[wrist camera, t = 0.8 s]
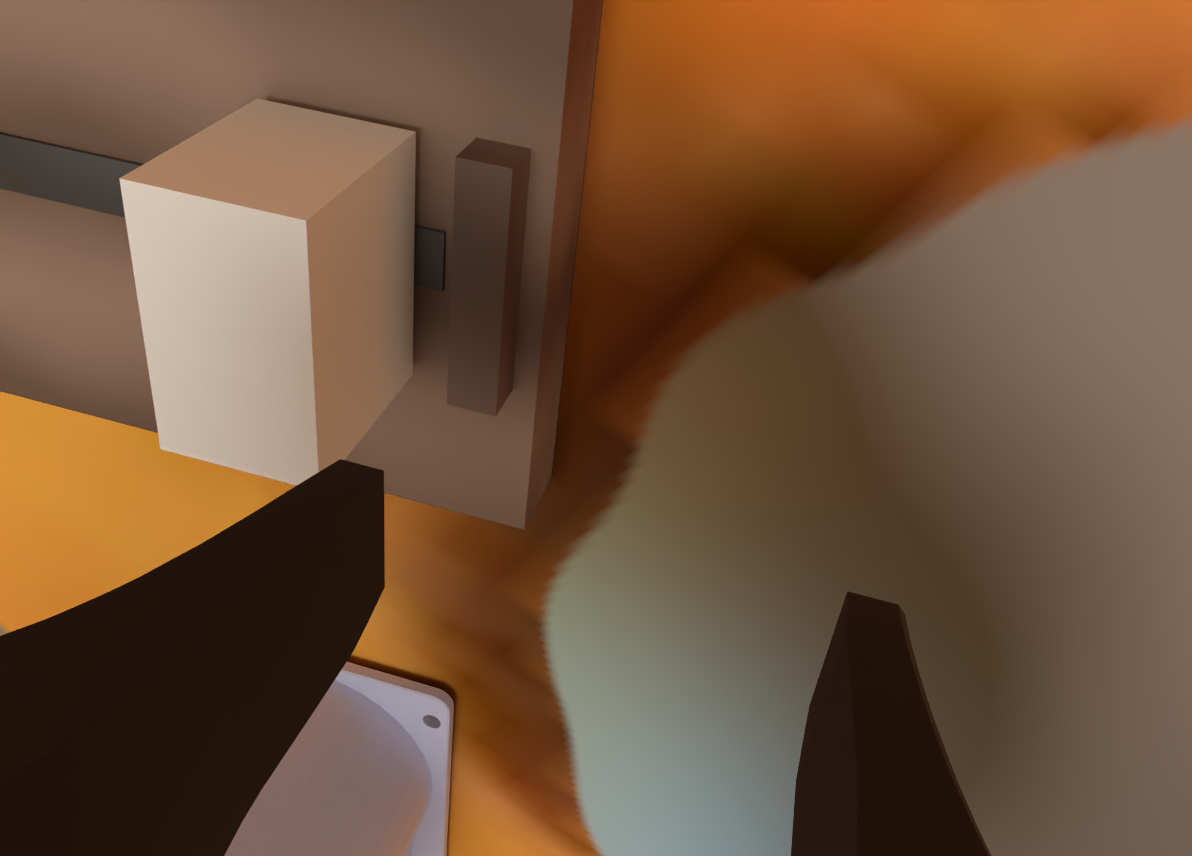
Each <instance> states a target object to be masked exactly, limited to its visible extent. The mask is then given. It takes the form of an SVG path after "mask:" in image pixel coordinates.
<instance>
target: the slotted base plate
mask: <svg viewBox="0 0 1192 856" xmlns="http://www.w3.org/2000/svg"><path fill="white" fill-rule="evenodd" d="M602 2H603V0H0V391H2V392H5V393H9V394H13V395H17V396H21V397H24V398H28V399H32V400H36V401H39V402H43V403H47V404H51V405H55V406H58V407H62V408H66V409H70V410H73V411H77V412H81V413H85V414H89V415H92V416H96V417H100V418H104V419H107V420H111V421H115V422H119V423H123V424H126V425H130V426H134V427H138V428H141V429H145V430H149V431H153V432H157V433H158V429H157V423H156V416H155V410H154V403H153V397H152V390H151V383H150V377H149V370H148V364H147V357H146V351H145V344H144V337H143V331H142V324H141V318H140V311H139V305H138V298H137V291H136V285H135V278H134V272H133V265H132V259H131V252H130V245H129V239H128V232H127V226H126V219H125V213H124V206H123V199H122V193H121V186H120V180H119V178H121V177H123V176H124V175H126V174H128V173H130V172H131V171H133V170H135V169H136V168H138V167H140V166H142V165H143V164H145V163H147V162H149V161H150V160H152V159H154V158H155V157H157V156H159V155H161V154H162V153H164V152H166V151H168V150H169V149H171V148H173V147H174V146H176V145H178V144H180V143H181V142H183V141H185V140H187V139H188V138H190V137H192V136H194V135H195V134H197V133H199V132H200V131H202V130H204V129H206V128H207V127H209V126H211V125H213V124H214V123H216V122H218V121H219V120H221V119H223V118H225V117H226V116H228V115H230V114H232V113H233V112H235V111H237V110H238V109H240V108H242V107H244V106H245V105H247V104H249V103H251V102H252V101H254V100H256V99H262V100H267V101H272V102H276V103H281V104H286V105H291V106H295V107H300V108H305V109H310V110H315V111H319V112H324V113H329V114H334V115H338V116H343V117H348V118H353V119H358V120H362V121H367V122H372V123H377V124H382V125H386V126H391V127H396V128H401V129H405V130H410V131H415V132H416V157H415V232H414V307H413V375H412V376H411V377H410V378H409V380H408V381H407V382H406V383H405V385H404V386H403V387H402V388H401V390H400V391H399V392H398V393H397V395H396V396H395V397H394V398H393V400H392V401H391V402H390V403H389V405H388V406H387V407H386V408H385V410H384V411H383V412H382V414H381V415H380V416H379V417H378V419H377V420H376V421H375V422H374V424H373V425H372V426H371V427H370V429H369V430H368V431H367V432H366V434H365V435H364V436H363V437H362V439H361V440H360V441H359V442H358V444H357V445H356V446H355V447H354V449H353V450H352V451H351V452H350V454H349V455H348V456H347V457H346V459H345V460H346V461H350V462H354V463H357V464H361V465H365V466H369V467H373V468H377V469H380V470H384V493H387V494H391V495H395V496H398V497H402V498H406V499H410V500H414V501H417V502H421V503H425V504H429V505H432V506H436V507H440V508H444V509H448V510H451V511H455V512H459V513H463V514H466V515H470V516H474V517H478V518H482V519H485V520H489V521H493V522H497V523H500V524H504V525H508V526H512V527H516V528H519V529H523V530H524V529H525V527H526V525H527V523H528V522H529V520H530V518H531V516H532V514H533V512H534V510H535V508H536V506H537V504H538V502H539V500H540V498H541V496H542V494H543V492H544V490H545V488H546V486H547V484H548V483H549V481H550V479H551V476H552V467H553V457H554V448H555V439H556V430H557V420H558V411H559V402H560V392H561V383H562V374H563V364H564V355H565V346H566V337H567V327H568V318H569V309H570V299H571V290H572V281H573V271H574V262H575V253H576V244H577V234H578V225H579V216H580V206H581V197H582V188H583V178H584V169H585V160H586V151H587V141H588V132H589V123H590V113H591V104H592V95H593V86H594V76H595V67H596V58H597V48H598V39H599V30H600V20H601V11H602Z"/></svg>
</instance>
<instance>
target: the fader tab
mask: <svg viewBox="0 0 1192 856" xmlns="http://www.w3.org/2000/svg"><path fill="white" fill-rule="evenodd" d="M415 157H416V132H415V131H410V130H405V129H401V128H396V127H391V126H386V125H382V124H377V123H372V122H367V121H362V120H358V119H353V118H348V117H343V116H338V115H334V114H329V113H324V112H319V111H315V110H310V109H305V108H300V107H295V106H291V105H286V104H281V103H276V102H272V101H267V100H262V99H256V100H254V101H252V102H251V103H249V104H247V105H245V106H244V107H242V108H240V109H238V110H237V111H235V112H233V113H232V114H230V115H228V116H226V117H225V118H223V119H221V120H219V121H218V122H216V123H214V124H213V125H211V126H209V127H207V128H206V129H204V130H202V131H200V132H199V133H197V134H195V135H194V136H192V137H190V138H188V139H187V140H185V141H183V142H181V143H180V144H178V145H176V146H174V147H173V148H171V149H169V150H168V151H166V152H164V153H162V154H161V155H159V156H157V157H155V158H154V159H152V160H150V161H149V162H147V163H145V164H143V165H142V166H140V167H138V168H136V169H135V170H133V171H131V172H130V173H128V174H126V175H124V176H123V177H121V178H119V180H120V186H121V193H122V199H123V206H124V213H125V219H126V226H127V232H128V239H129V245H130V252H131V259H132V265H133V272H134V278H135V285H136V291H137V298H138V305H139V311H140V318H141V324H142V331H143V337H144V344H145V351H146V357H147V364H148V370H149V377H150V383H151V390H152V397H153V403H154V410H155V416H156V423H157V429H158V436H159V442H160V449H162V450H165V451H169V452H173V453H177V454H180V455H184V456H188V457H192V458H195V459H199V460H203V461H207V462H210V463H214V464H218V465H222V466H225V467H229V468H233V469H237V470H240V471H244V472H248V473H252V474H255V475H259V476H263V477H267V478H270V479H274V480H278V481H282V482H285V483H289V484H293V485H296V486H297V485H299V484H300V483H302V482H303V481H305V480H307V479H308V478H310V477H311V476H313V475H315V474H316V473H318V472H320V471H321V470H323V469H325V468H326V467H328V466H330V465H331V464H333V463H335V462H336V461H338V460H340V459H342V460H345V459H346V457H347V456H348V455H349V454H350V452H351V451H352V450H353V449H354V447H355V446H356V445H357V444H358V442H359V441H360V440H361V439H362V437H363V436H364V435H365V434H366V432H367V431H368V430H369V429H370V427H371V426H372V425H373V424H374V422H375V421H376V420H377V419H378V417H379V416H380V415H381V414H382V412H383V411H384V410H385V408H386V407H387V406H388V405H389V403H390V402H391V401H392V400H393V398H394V397H395V396H396V395H397V393H398V392H399V391H400V390H401V388H402V387H403V386H404V385H405V383H406V382H407V381H408V380H409V378H410V377H411V376H412V375H413V307H414V232H415Z"/></svg>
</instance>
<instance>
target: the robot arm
mask: <svg viewBox="0 0 1192 856" xmlns="http://www.w3.org/2000/svg"><path fill="white" fill-rule="evenodd" d="M384 587H385V579H384V470H380V469H377V468H373V467H369V466H365V465H361V464H357V463H354V462H350V461H346V460H342V459H340V460H338V461H336V462H335V463H333V464H331V465H330V466H328V467H326V468H325V469H323V470H321V471H320V472H318V473H316V474H315V475H313V476H311V477H310V478H308V479H307V480H305V481H303V482H302V483H300V484H299V485H297V486H295V487H294V488H292V489H291V490H289V491H287V492H286V493H284V494H283V495H281V496H279V497H278V498H276V499H275V500H273V501H271V502H270V503H268V504H267V505H265V506H263V507H262V508H260V509H259V510H257V511H255V512H254V513H252V514H250V515H249V516H247V517H245V518H244V519H242V520H240V521H239V522H237V523H235V524H234V525H232V526H230V527H229V528H227V529H225V530H224V531H222V532H220V533H219V534H217V535H215V536H214V537H212V538H210V539H209V540H207V541H205V542H203V543H202V544H200V545H198V546H196V547H194V548H193V549H191V550H189V551H187V552H185V553H183V554H181V555H180V556H178V557H176V558H174V559H172V560H170V561H168V562H167V563H165V564H163V565H161V566H159V567H157V568H156V569H154V570H152V571H150V572H148V573H146V574H144V575H143V576H141V577H139V578H137V579H135V580H133V581H131V582H129V583H127V584H124V585H122V586H120V587H118V588H116V589H114V590H112V591H110V592H108V593H105V594H103V595H101V596H99V597H97V598H94V599H92V600H90V601H87V602H85V603H83V604H81V605H78V606H76V607H74V608H71V609H69V610H67V611H65V612H62V613H60V614H58V615H55V616H53V617H50V618H48V619H45V620H43V621H40V622H37V623H34V624H32V625H29V626H26V627H24V628H21V629H18V630H15V631H13V632H10V633H7V634H5V635H2V636H0V856H446V855H447V835H448V815H449V795H450V774H451V754H452V734H453V714H454V703H453V700H452V699H451V697H450V696H449V694H447V693H446V692H445V691H443V690H441V689H439V688H436V687H432V686H429V685H425V684H422V683H418V682H415V681H412V680H408V679H405V678H401V677H398V676H394V675H391V674H388V673H384V672H381V671H377V670H374V669H370V668H367V667H364V666H360V665H357V664H353V663H350V662H347V660H348V659H349V657H350V656H351V654H352V653H353V651H354V649H355V647H356V645H357V643H358V641H359V639H360V637H361V635H362V633H363V631H364V629H365V627H366V625H367V623H368V621H369V619H370V617H371V614H372V612H373V610H374V608H375V606H376V604H377V602H378V600H379V598H380V595H381V593H382V591H383V589H384ZM791 856H991V854H990V852H989V850H988V848H987V846H986V844H985V842H984V840H983V838H982V835H981V833H980V831H979V829H978V827H977V825H976V823H975V821H974V818H973V816H972V814H971V811H970V809H969V807H968V805H967V802H966V800H965V798H964V795H963V793H962V791H961V789H960V786H959V784H958V781H957V779H956V776H955V774H954V771H953V769H952V766H951V764H950V761H949V758H948V756H947V753H946V750H945V748H944V745H943V742H942V740H941V737H940V734H939V731H938V729H937V726H936V724H935V721H934V718H933V715H932V712H931V709H930V706H929V703H928V700H927V697H926V694H925V690H924V687H923V684H922V681H921V678H920V674H919V671H918V667H917V664H916V660H915V656H914V653H913V649H912V645H911V641H910V637H909V633H908V628H907V623H906V618H905V614H904V612H903V611H902V610H901V608H900V606H899V605H897V604H893V603H889V602H885V601H882V600H878V599H874V598H870V597H866V596H862V595H859V594H855V593H851V592H847V594H846V597H845V601H844V603H843V607H842V609H841V613H840V616H839V618H838V621H837V624H836V627H835V631H834V634H833V637H832V640H831V643H830V646H829V649H828V652H827V655H826V658H825V661H824V664H823V667H822V670H821V673H820V676H819V679H818V682H817V685H816V688H815V691H814V694H813V697H812V700H811V703H810V706H809V712H808V718H807V723H806V728H805V734H804V739H803V745H802V750H801V756H800V762H799V767H798V773H797V779H796V790H795V804H794V820H793V835H792V849H791Z"/></svg>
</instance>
